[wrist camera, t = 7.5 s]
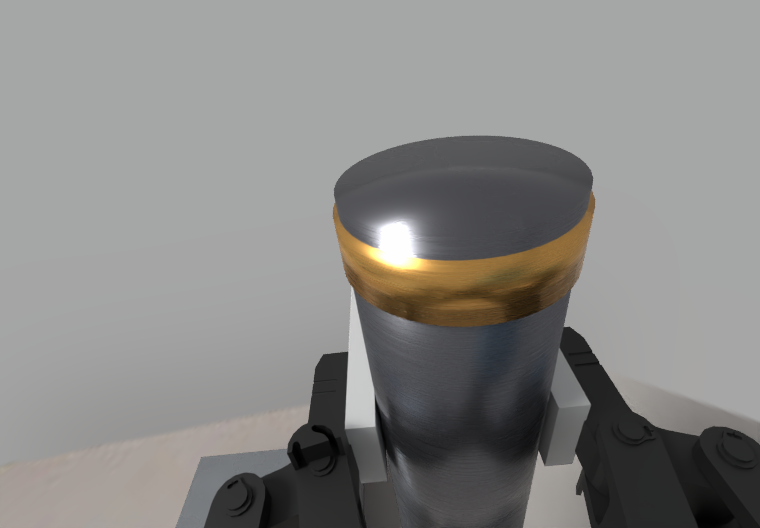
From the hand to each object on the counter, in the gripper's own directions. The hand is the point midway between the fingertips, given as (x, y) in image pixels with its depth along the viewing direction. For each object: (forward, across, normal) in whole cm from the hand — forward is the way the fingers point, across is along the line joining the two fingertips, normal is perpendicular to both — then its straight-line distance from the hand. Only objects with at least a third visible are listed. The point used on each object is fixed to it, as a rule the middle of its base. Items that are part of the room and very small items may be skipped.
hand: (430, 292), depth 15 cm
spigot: (-5, 0, -9) cm, 10 cm away
